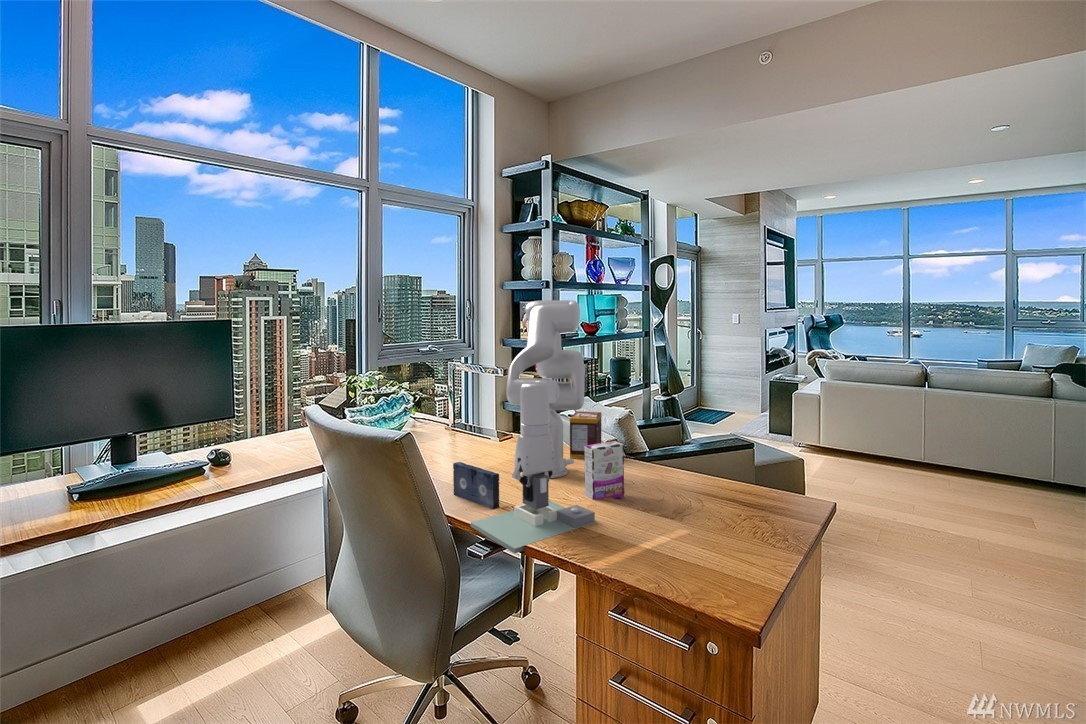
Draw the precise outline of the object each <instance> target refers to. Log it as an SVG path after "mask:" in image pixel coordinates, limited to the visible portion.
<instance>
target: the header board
mask: <svg viewBox="0 0 1086 724" xmlns="http://www.w3.org/2000/svg"><path fill="white" fill-rule="evenodd" d="M564 508H566V507H565V506H564V505H560V504H558V503H556V502H553V501H551V500H549V506H547V507H543V508H540V509H534V508H532V507H530V506H528V505H526V504H523V503H522V504H519V505H515V506H514V507H513V509H514V510H510V511H507V512H503V513H500V514H495V515H491V516H487V517H484V518H481V519H477V520H473V521H470V527H471V528H473V530H475V531H477V532H479V533H480V534H482V535H483V536H485V537H487V538H489V540H492V541H493V542H495V543H497V544H498V545H500V546H502V547H503V548H505V549H506V550H508V551H509V552H511V553H513V554H518V553H522V552H524V551H526V550H528V549H527V548H525V547H524V546H527V545H531V544H534V543H537V542H540V541H543V540H545V539H549V538H553V537H555V536H558V535H561V534H563V533H564V534H565V533H567V532H570V531H573V530H576V529H579V528H582V527H586V526H588V525H591V524H595V523H598V520H595V521H594V522H591V523H588V524H585V525H582V526H579V527H576V528H573V527H571V526H569V525H567V524H565V523H563V522H560V521H558V520H557V511H558V510H561V509H564Z"/></svg>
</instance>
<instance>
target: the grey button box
mask: <svg viewBox="0 0 1086 724" xmlns="http://www.w3.org/2000/svg"><path fill="white" fill-rule="evenodd" d="M595 519H596V512H595V511H592V510H590V509H588V508H585V507H584V506H581V505H579V504H575V505H572V506H568V507H565V508H564V509H561V510H558V511H557V520H558V521H560V522H563V523H565V524H567V525H569V526H571V527H573V528H576V527H579V526H582V525H585V524H588V523H591V522H594V521H596V520H595Z"/></svg>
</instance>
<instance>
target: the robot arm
mask: <svg viewBox="0 0 1086 724" xmlns="http://www.w3.org/2000/svg"><path fill="white" fill-rule="evenodd" d="M525 316H526V320H527V322H528V329H527V340H526V347H524V349H522V350H521V351H520V352H519V353H518V354H517V355H515V357H514V358H513V360H512V362H511V363H510V365H509V368H508V372H507V379H506V380H507V381H506V388H505V389H506V395H505V396H506V399H507V401H508V403H509V404H510V405H512V406H519V407H520V416H519V417H520V435H519V434H518V435H517V439H516V442H515V449H514V471H513V473H512V475H511V477H512V478H513V479H515V480H516V481H518V482H519V483H520V484H521V485H522V498H523V497H524V499H525V500H527V501H529V502H532V501H533V488H532V486H531V481H532V475H534V474H539V473H542V474H544V475H547V476H548V483H549V482H550V479H555V478H561V477H565V476H566V475H568V473H569V470H568V468H567V466H568V465H573V464H575V460H574V458H565V457H564V421H563V419H562V417H561V416H560V414H558V413H557V411H576V410H577V411H579V410H581V409H582V408H583V406H584V403H585V363H584V357H583V354H582V353H581V352H580V351H578V350H575V349H574V350H573V349H570V350H569V349H564V350H563V349H562V336H561V333H574V332H575V331H577V329H578V326H579V323H580V319H581V309H580V305H579V303H578V302H577V301H576V300H569V299H568V300H567V299H566V300H565V299H564V300H563V299H562V300H558V299H557V300H554V299H553V300H547V299H546V300H545V299H543V300H542V299H541V300H534V301H533V300H532V301H530V302H528V303H527V304H526V306H525ZM535 365H536V366H535ZM533 366H535V367H536V372H537V375H538V376H539V377H540V378H538V377H520V376H521V374H522V373H523V372H524V371H525V370H526V369H528V368H530V367H533ZM554 379H561V380H562V379H567V380H569V381H555V380H554ZM521 474H522V475H521ZM526 478H527V480H526Z"/></svg>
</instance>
